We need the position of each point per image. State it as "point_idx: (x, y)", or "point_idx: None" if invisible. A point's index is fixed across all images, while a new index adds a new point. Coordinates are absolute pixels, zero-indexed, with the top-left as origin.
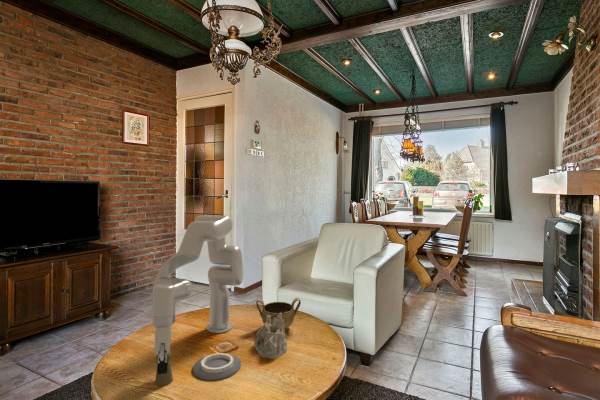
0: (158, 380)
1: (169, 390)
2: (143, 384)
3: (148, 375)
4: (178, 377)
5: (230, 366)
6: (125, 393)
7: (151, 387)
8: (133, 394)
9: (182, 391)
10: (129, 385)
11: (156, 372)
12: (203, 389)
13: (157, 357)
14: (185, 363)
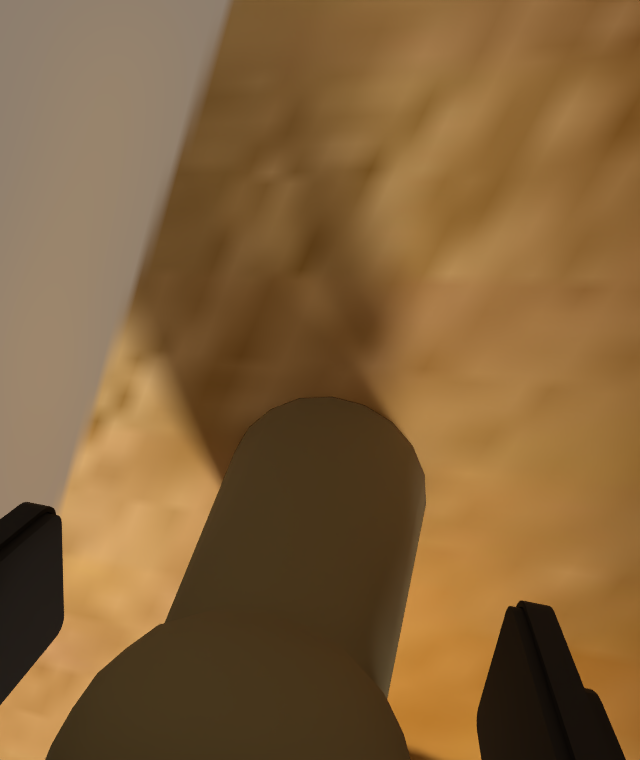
0: (242, 452)
1: (128, 511)
2: (363, 267)
3: (570, 338)
4: None
5: None
6: (241, 38)
7: (253, 354)
8: (181, 146)
9: (74, 604)
10: (425, 80)
11: (297, 471)
12: (53, 740)
13: (119, 693)
14: None
